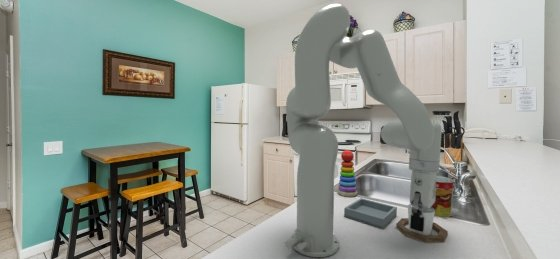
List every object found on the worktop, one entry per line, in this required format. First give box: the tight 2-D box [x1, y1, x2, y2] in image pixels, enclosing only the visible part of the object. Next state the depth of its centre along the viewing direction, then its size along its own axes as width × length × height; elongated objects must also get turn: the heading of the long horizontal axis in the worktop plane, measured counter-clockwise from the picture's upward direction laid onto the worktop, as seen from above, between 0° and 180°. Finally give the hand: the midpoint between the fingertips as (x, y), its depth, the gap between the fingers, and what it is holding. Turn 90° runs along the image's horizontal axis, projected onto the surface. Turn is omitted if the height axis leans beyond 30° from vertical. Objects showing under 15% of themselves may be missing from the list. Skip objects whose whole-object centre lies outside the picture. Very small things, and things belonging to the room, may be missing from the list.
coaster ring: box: [395, 217, 449, 244], centre depth 72 cm, size 12×12×1 cm
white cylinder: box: [407, 203, 435, 235], centre depth 72 cm, size 7×7×7 cm
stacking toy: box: [337, 149, 358, 198], centre depth 103 cm, size 8×8×19 cm
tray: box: [343, 197, 398, 230], centre depth 82 cm, size 13×13×3 cm
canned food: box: [431, 175, 455, 218], centre depth 85 cm, size 8×8×12 cm
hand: (420, 224), depth 72 cm, fingers closed on white cylinder, 6 cm apart
